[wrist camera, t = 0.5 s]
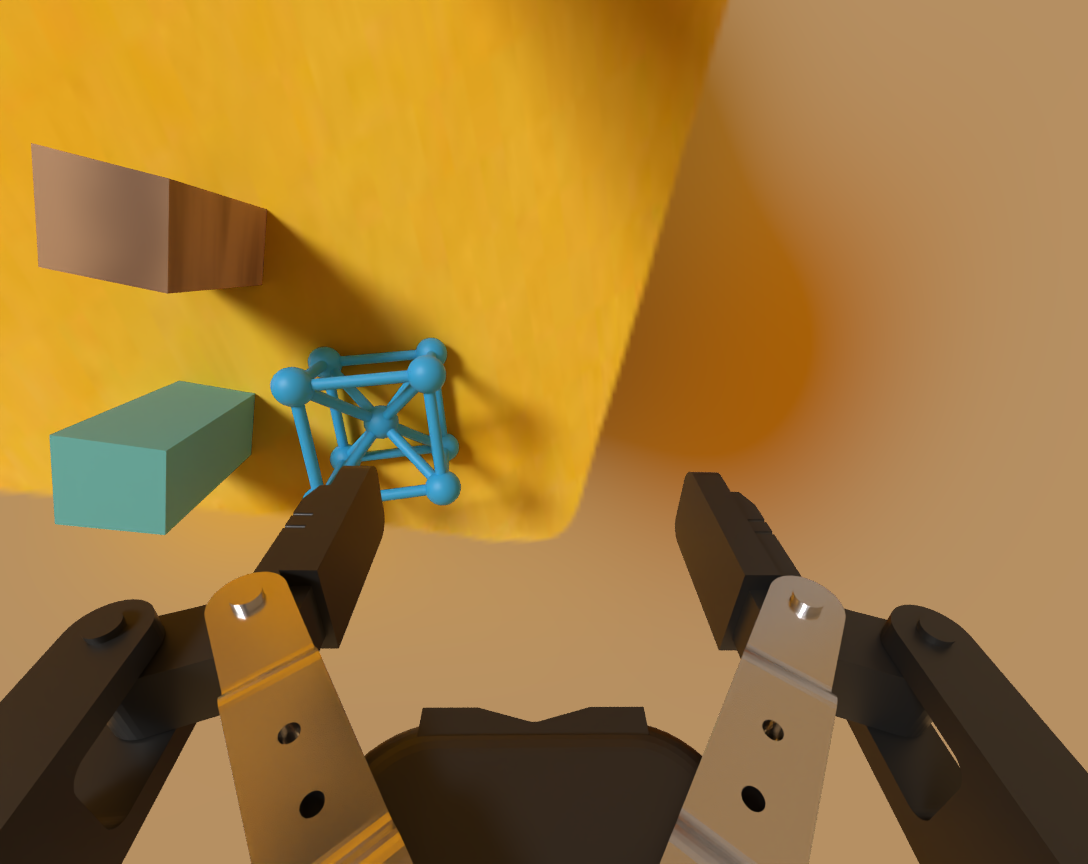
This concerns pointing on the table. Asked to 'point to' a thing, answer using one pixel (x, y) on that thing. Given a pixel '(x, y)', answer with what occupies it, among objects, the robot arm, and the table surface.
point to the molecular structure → (376, 415)
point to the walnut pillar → (142, 227)
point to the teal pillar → (150, 457)
